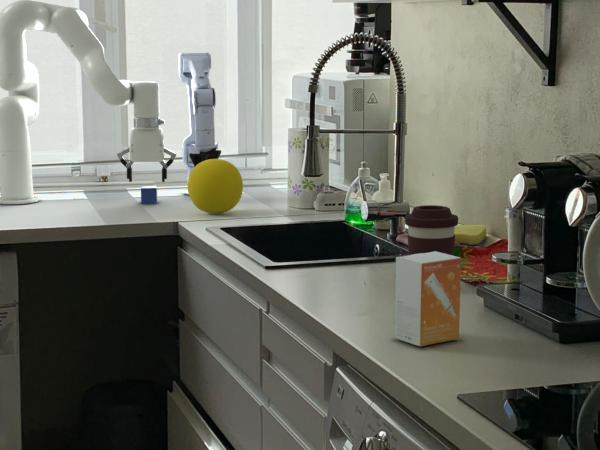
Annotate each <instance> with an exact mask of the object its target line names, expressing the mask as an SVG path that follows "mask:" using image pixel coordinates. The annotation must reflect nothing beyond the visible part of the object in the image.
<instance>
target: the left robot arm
mask: <svg viewBox="0 0 600 450" xmlns="http://www.w3.org/2000/svg"><path fill="white" fill-rule="evenodd" d="M27 31H39V32H46V33H51V34H56V35H57V36H58V37H59V38H60V40H61V41H62V43H63V44H64V45H65V46H66V48H67V49H68V50H69V52H70V53H71V54H72V55H73V56H74V58H75V59H76V61H77V62H78V63H79V65H80V68H81V70H82V72H83V73H84V75H85V78H86V79H87V81H88V83H89V84H90V86H92V88H93V90H94V91H95V92H96V93H97V94H98V96H99V97H100V98H101V100H102V101H103V102H104V103H106V104H107V105H108V106H110V107H113V108H114V107H115V108H118V107H123V106H130V105H133V127H131V129H130V133H129V147H126V148H125V149H122V150H120V151H119V152H117V153H116V156H117V158H118V160H119V161H120V163H121V164H122V166H124V168H126V180H128V182H129V183H132V182H133V167H132V165H133V164H134V163H159V164H160V165H161V166H162V168H161V182H162V183H165V180H168V168H169V167H170V166H171V165H172V164H173V162H174V161H175V159H176V157H177V153H176V152H174V151H173V150H171V149H168V148H166V147H165V140H164V131H163V128H162V127H160V126H162V125H165V119H161V118H160V85H159V83H158V82H156V81H149V80H143V81H141V80H140V81H133V80H127V79H119V77H117V75H116V74H115V72H114V71H113V69H111V67H110V65H109V63H108V61H107V59H106V57H105V56H106V55H105V48H104V46H103V44H102V43H101V41H100V40H99V38H98V37H97V36H96V35H95V34H94V32H93V30H91V28H90V27H89V19H88V17H87V15H86V13H85V12H83V10H82V9H79V8H78V7H73V6H72V7H70V6H64V5H59V4H52V3H47V2H42V1H37V0H36V1H35V0H17V1H13V2H11V3H9V4H7V6H5V7H4V8H3V9H2V10H1V11H0V88H1V89H2V90H4V91H7V92H8V96H5V97H3V98H1V99H0V205H25V204H26V205H27V204H33V203H38V202H39V201H40V197H39V196H38V195H34V181H33V162H32V144H31V137H30V136H31V135H30V131H29V128H28V126H30V125H32V124H34V123H35V122H36V121H37V119H38V117H39V113H40V79H39V78H40V77H39V73H38V69H37V68H36V66H35V65H34V63H33V62H31V61H30V60H28V59H27V42H26V38H25V34H26V33H25V32H27ZM127 154H128V157H129V160H128V161H127V160H126V159H125V158H124V155H127ZM165 154H166V155H169V157H170V158H169V159H168V160H167V161H165V160H164V159H165Z"/></svg>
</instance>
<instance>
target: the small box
mask: <svg viewBox="0 0 600 450" xmlns="http://www.w3.org/2000/svg"><path fill="white" fill-rule="evenodd" d="M461 272H462V257H460V256H455V255H454V256H452V255H448V254H444V253H440V252H436V251H434V252H429V253H420V254H413V255H409V254H408V255H402V256H396V257H395V306H394V308H395V309H394V310H395V311H394V312H395V313H394V321H395V322H394V338H395V339H397V340H399V341H402V342H405V343H408V344H411V345H414V346H416V347H417V346H418V347H424V346H425V347H426V346H428V345H434V344H438V343H444V342H450V341H456V340H459V339H460V319H461V318H460V314H461V313H460V312H461V280H462V279H461V278H462V277H461V274H462V273H461Z"/></svg>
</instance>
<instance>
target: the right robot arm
mask: <svg viewBox="0 0 600 450" xmlns="http://www.w3.org/2000/svg"><path fill="white" fill-rule="evenodd" d="M177 60H178V61H177V63H178V76H179V81H180V82H182V83H183V84H185V86H186V89H187V98H188V101H187V102H188V116H189V133H190V134H189V135H187V137H186V136H185V138H184V139H183V140H182V143H181V147H182V148H181V157H182V164H184V165H186V171H187V180H188V179H189V176H190V173H191V171H192V170H193V168H194V167H195V166H196V165H198V164H199V163H201V162H203V161H205V160H209V159H220V156H221V154H222V150H221V149H219V142H216V135H215V133H216V132H215V131H216V129H215V108H216V104H217V94H216V90H215V88H214V87H212V84H211V79H210V76H211V71H212V56H211V54H210V53H209V52H208V51H207V52H180V53H179V54H178V58H177ZM181 195H189V193H188V191H183V192H181Z"/></svg>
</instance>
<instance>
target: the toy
mask: <svg viewBox="0 0 600 450" xmlns="http://www.w3.org/2000/svg"><path fill="white" fill-rule="evenodd" d="M242 177H243V176H242V175H241V172H240V170H239V169H238V168H237V167H236V166H235V165H234V164H233V163H231V162H230V161H228V160H225V159H221V158H218V159H209V160H205V161H203V162H201V163H199V164H198V165H196V166H195V167H194V168H193V170H192V171H191V173H190V176H189V179H188V178H187V192H188V193H189V194H188V197H189V199H190V201H191V202H192V204H193V205H194V206H195V207H196V208H197V209H199V210H200V211H202V212H204V213H208V214H214V215H215V214H223V213H227V212H229V211H231V210H233V208H235V207H236V206H237V205H238V203H239V202H240V200H241V198H242V195H243V191H244V183H243V178H242Z"/></svg>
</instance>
